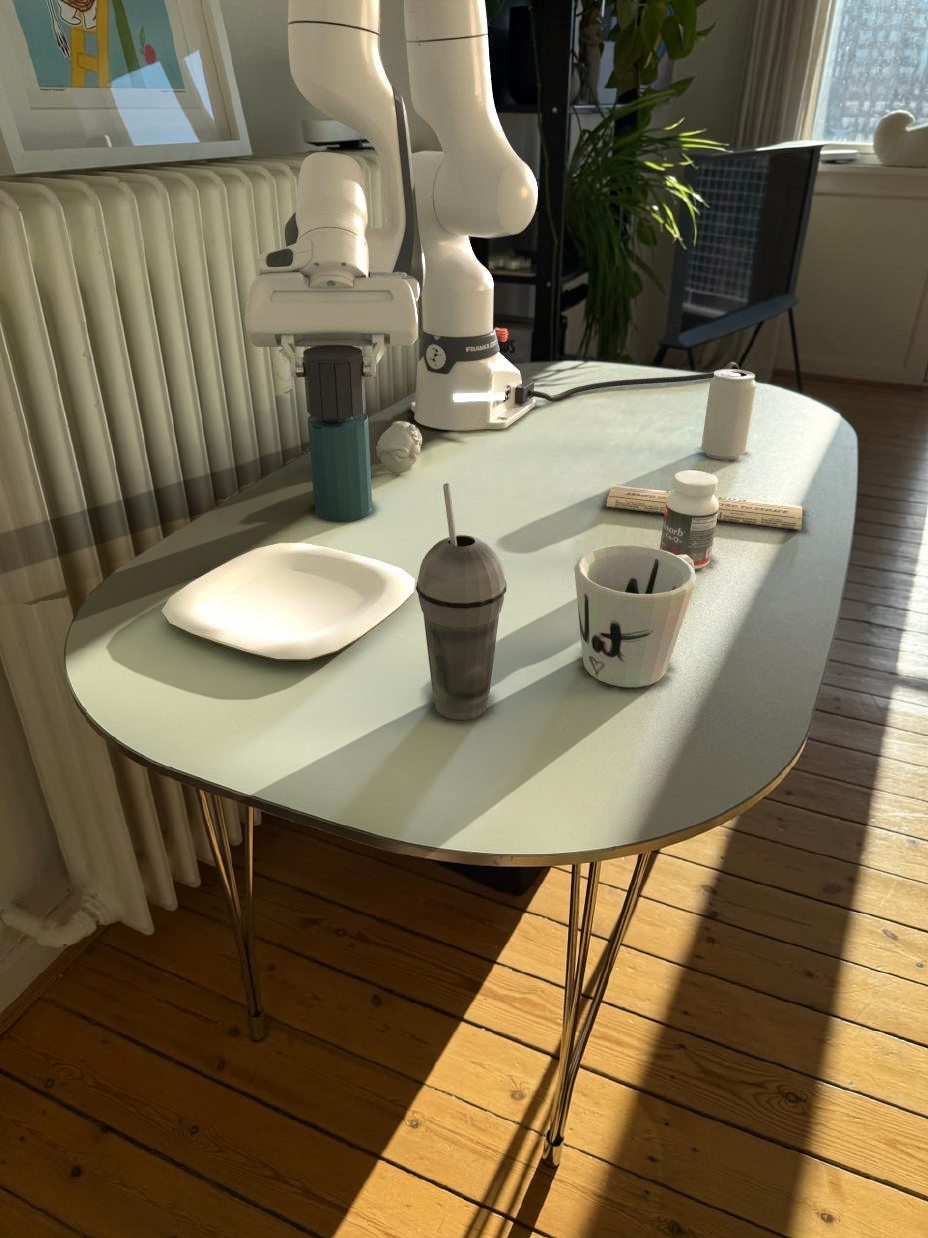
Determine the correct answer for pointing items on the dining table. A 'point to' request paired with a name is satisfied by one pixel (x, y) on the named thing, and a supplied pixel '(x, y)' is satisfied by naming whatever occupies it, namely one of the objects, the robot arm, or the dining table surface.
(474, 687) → the beverage cup
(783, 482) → the dining table surface
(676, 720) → the dining table surface
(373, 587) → the plate
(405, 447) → the cream lumpy ball
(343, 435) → the flask
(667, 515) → the pill bottle
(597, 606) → the mug
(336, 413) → the flask lid
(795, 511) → the newspaper
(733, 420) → the beverage can
